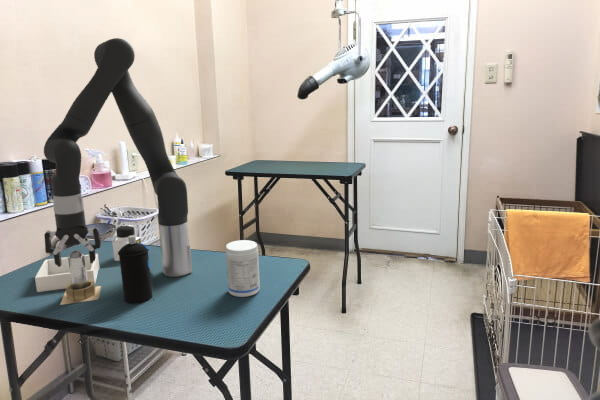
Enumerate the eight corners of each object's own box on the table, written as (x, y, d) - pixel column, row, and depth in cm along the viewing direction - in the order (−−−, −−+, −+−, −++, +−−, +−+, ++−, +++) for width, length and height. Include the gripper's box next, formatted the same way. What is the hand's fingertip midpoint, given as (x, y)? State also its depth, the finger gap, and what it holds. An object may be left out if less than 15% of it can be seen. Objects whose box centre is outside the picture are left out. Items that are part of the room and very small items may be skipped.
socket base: (101, 290, 147) (100, 276, 146) (99, 304, 137) (97, 289, 136) (66, 295, 144) (64, 281, 143) (60, 309, 135) (58, 294, 134)
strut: (90, 290, 143) (84, 246, 140) (89, 296, 139) (83, 251, 136) (74, 292, 142) (67, 248, 138) (71, 299, 138) (65, 253, 134)
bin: (99, 270, 163) (97, 253, 161) (95, 288, 148) (93, 270, 147) (47, 276, 158) (45, 259, 157) (37, 296, 143) (34, 277, 142)
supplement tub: (230, 284, 149) (227, 239, 145) (261, 284, 148) (259, 239, 145) (225, 298, 139) (222, 250, 136) (258, 298, 139) (256, 250, 135)
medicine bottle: (132, 262, 170) (128, 229, 167) (114, 261, 171) (110, 229, 168) (142, 255, 176) (139, 223, 174) (125, 254, 178) (121, 223, 175)
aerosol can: (137, 311, 132) (129, 242, 128) (117, 305, 137) (109, 238, 132) (160, 300, 139) (153, 234, 134) (141, 294, 143) (133, 230, 139)
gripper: (97, 204, 140) (103, 257, 144) (43, 208, 136) (51, 262, 140) (95, 210, 133) (101, 265, 137) (38, 215, 129) (46, 271, 133)
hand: (75, 264), depth 138 cm, fingers open, 8 cm apart
